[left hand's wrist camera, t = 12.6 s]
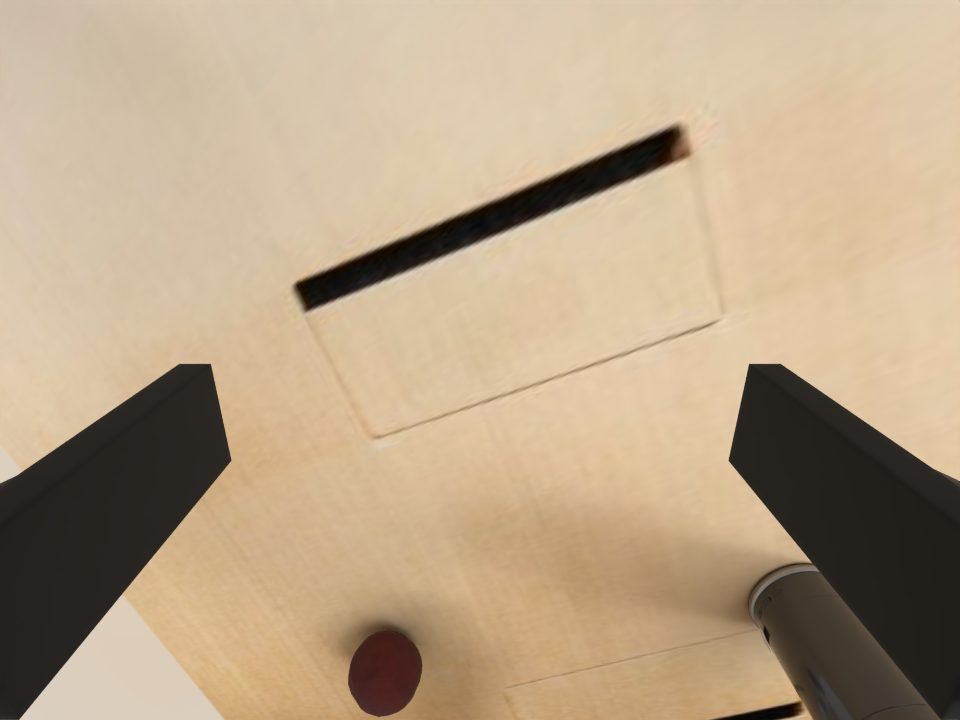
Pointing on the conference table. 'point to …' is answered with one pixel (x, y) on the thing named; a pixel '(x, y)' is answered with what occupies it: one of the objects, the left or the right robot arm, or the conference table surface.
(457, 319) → the conference table surface
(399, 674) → the dark red ball
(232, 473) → the conference table surface
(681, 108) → the conference table surface
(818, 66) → the conference table surface
